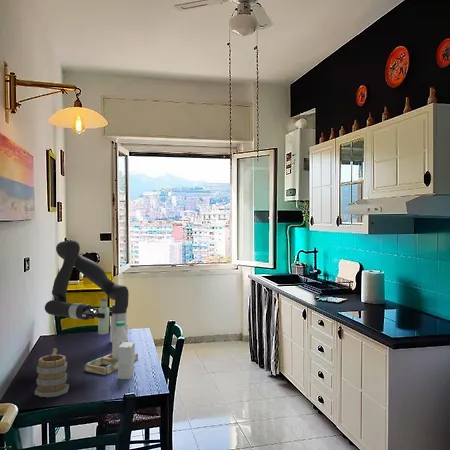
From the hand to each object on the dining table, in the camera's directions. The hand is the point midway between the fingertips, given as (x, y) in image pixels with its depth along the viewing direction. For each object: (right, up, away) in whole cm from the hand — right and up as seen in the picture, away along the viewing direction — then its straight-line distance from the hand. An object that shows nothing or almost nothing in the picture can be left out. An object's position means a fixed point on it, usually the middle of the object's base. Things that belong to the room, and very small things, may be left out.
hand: (108, 314), depth 214 cm
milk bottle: (+3, -26, +13) cm, 29 cm away
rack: (0, -26, +7) cm, 27 cm away
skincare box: (+11, -27, -9) cm, 30 cm away
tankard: (-17, -27, -24) cm, 39 cm away
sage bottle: (-3, -9, +1) cm, 9 cm away
